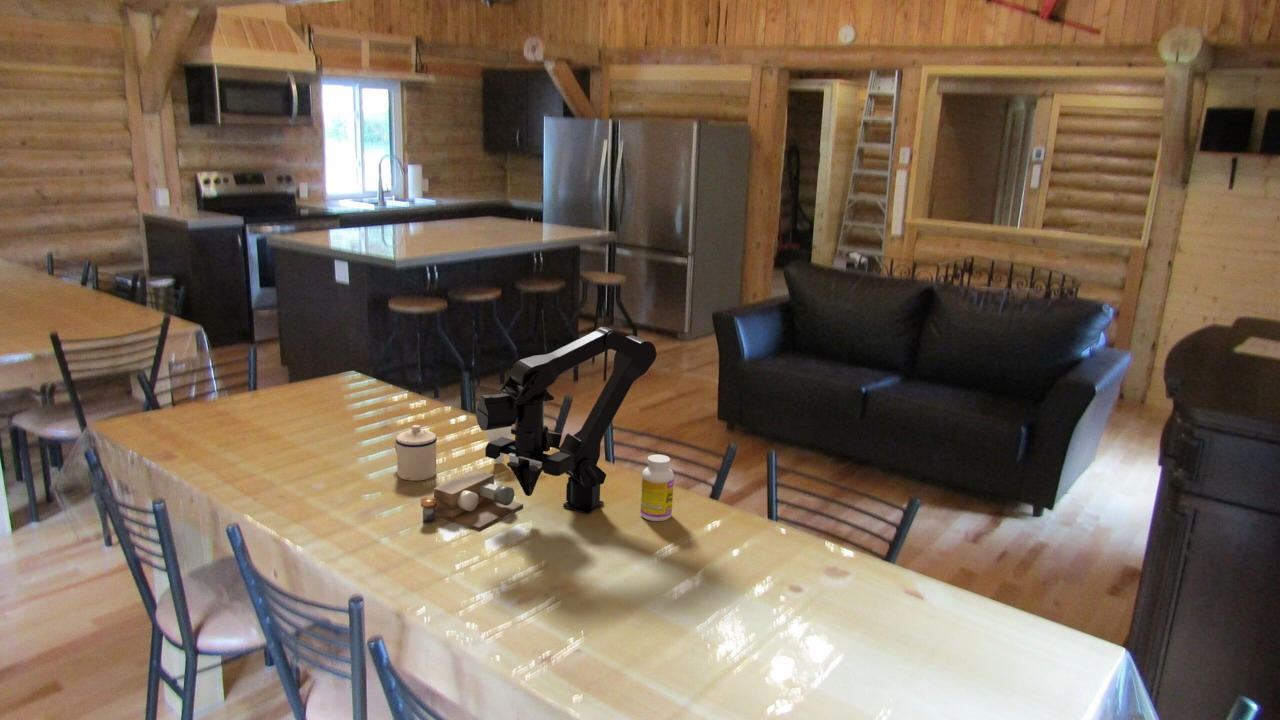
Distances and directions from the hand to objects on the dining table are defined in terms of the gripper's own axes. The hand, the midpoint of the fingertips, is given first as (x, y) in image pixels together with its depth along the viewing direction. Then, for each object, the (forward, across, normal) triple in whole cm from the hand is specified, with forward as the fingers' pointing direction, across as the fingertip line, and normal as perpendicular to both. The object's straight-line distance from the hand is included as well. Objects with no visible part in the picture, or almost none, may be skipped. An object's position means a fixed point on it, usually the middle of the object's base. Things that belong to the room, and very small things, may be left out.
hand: (528, 495), depth 177 cm
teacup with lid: (+5, +36, -4) cm, 37 cm away
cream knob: (+4, +14, +7) cm, 16 cm away
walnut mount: (+5, +11, +3) cm, 12 cm away
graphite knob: (+4, +10, 0) cm, 10 cm away
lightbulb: (+5, +24, -20) cm, 32 cm away
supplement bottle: (+5, -21, -17) cm, 27 cm away
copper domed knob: (+5, +15, +13) cm, 21 cm away
